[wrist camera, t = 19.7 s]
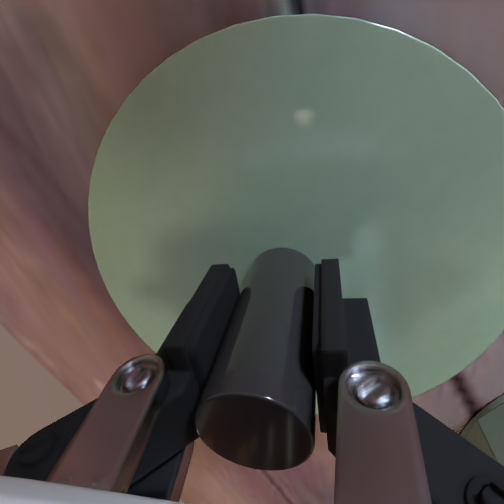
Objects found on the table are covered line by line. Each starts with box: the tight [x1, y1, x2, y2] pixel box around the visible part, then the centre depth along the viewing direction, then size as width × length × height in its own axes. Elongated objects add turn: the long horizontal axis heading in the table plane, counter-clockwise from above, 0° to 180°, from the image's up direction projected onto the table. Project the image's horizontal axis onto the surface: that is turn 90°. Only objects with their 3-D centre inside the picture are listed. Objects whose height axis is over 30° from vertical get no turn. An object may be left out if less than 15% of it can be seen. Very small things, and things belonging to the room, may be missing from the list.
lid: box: [88, 14, 504, 470], centre depth 10 cm, size 16×16×7 cm
